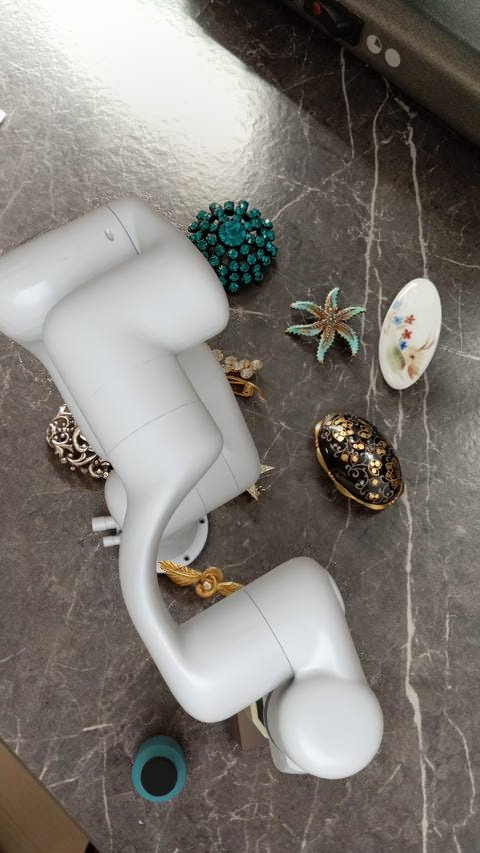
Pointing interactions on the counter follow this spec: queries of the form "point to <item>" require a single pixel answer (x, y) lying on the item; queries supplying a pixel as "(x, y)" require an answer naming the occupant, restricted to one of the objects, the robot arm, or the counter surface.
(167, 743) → the beverage bottle
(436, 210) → the counter surface
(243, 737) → the stand
